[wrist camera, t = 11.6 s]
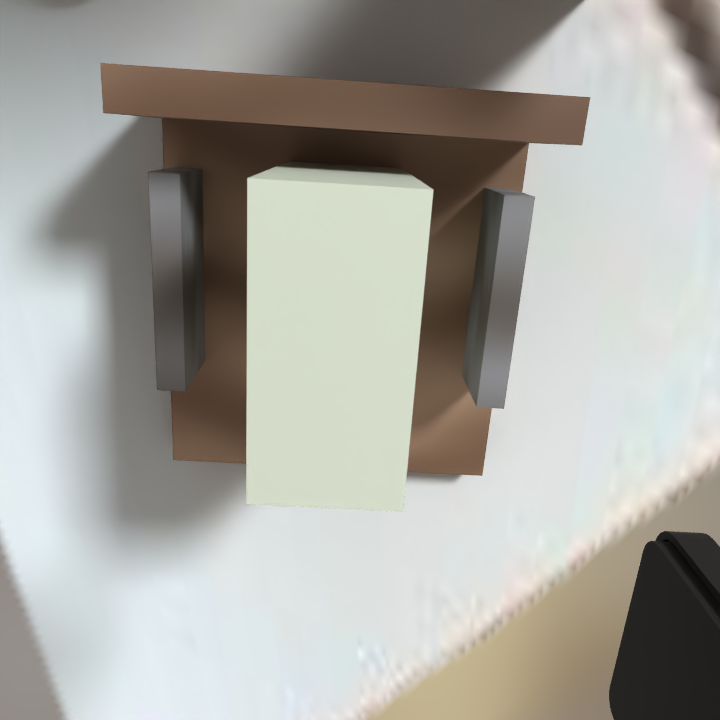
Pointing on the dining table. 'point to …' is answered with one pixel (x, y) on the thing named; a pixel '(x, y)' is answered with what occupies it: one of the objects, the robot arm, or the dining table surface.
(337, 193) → the pale green box
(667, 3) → the dining table surface
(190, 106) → the shelf
